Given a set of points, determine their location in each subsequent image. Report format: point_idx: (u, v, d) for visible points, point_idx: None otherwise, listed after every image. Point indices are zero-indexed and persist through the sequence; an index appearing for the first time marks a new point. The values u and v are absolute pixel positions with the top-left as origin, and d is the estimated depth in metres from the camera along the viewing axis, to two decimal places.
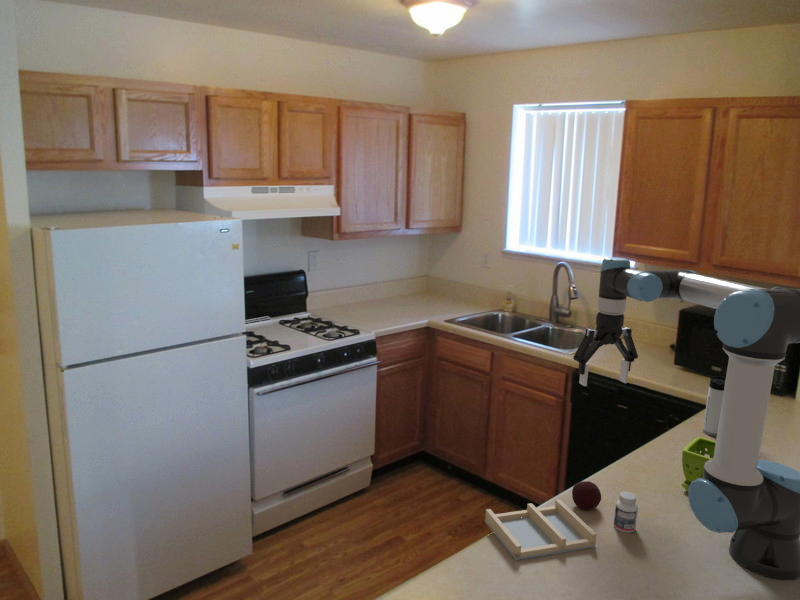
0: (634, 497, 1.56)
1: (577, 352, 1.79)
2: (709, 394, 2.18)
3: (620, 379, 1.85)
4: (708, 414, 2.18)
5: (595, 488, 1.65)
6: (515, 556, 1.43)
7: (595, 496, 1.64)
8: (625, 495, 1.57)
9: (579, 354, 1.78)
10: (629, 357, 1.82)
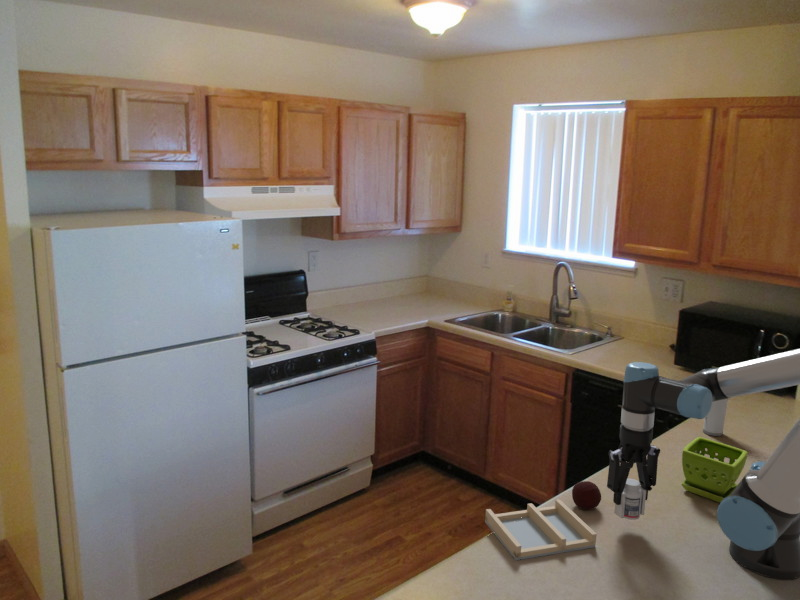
0: (638, 484, 1.55)
1: (609, 480, 1.54)
2: None
3: None
4: (708, 414, 2.18)
5: (595, 488, 1.65)
6: (515, 556, 1.43)
7: (595, 496, 1.64)
8: (629, 482, 1.56)
9: (612, 483, 1.53)
10: (647, 484, 1.56)
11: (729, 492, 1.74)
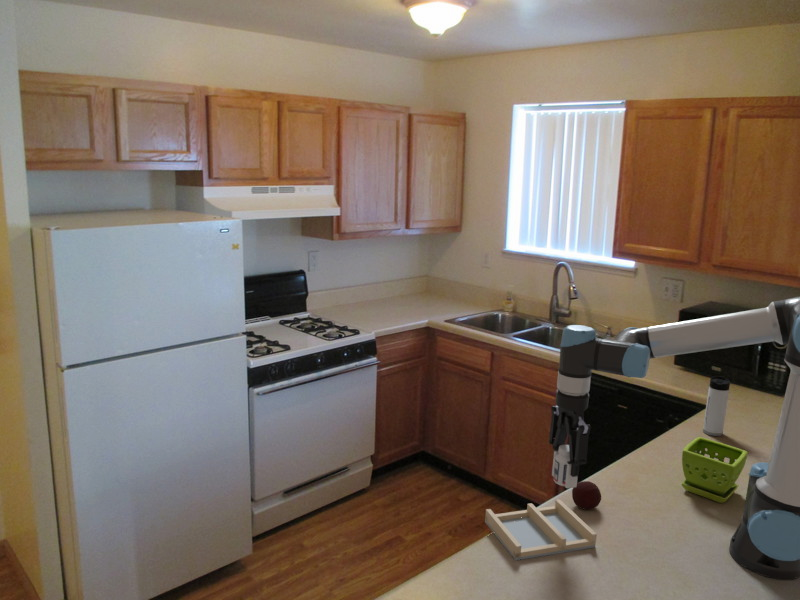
0: (564, 450, 1.50)
1: None
2: (709, 394, 2.18)
3: None
4: (708, 414, 2.18)
5: (595, 488, 1.65)
6: (515, 556, 1.43)
7: (595, 496, 1.64)
8: (566, 447, 1.52)
9: None
10: (571, 457, 1.48)
11: (729, 492, 1.74)
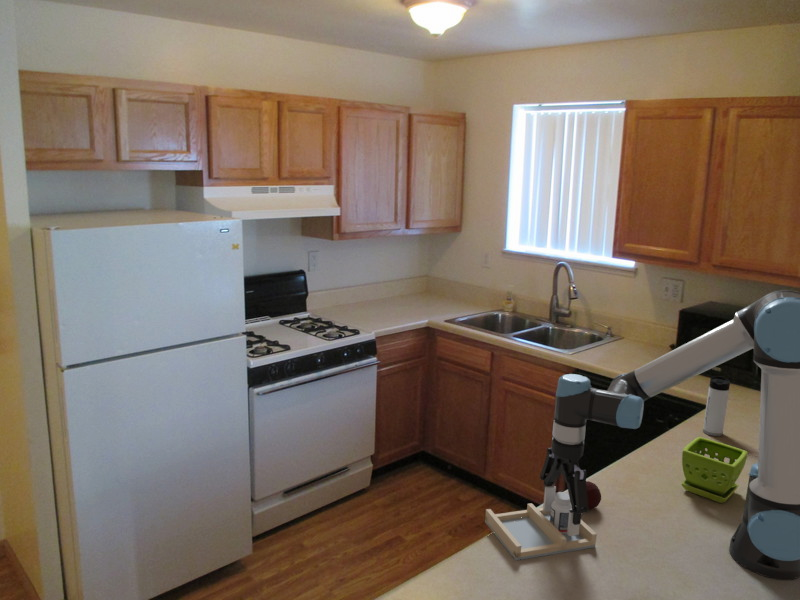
0: (560, 498, 1.53)
1: None
2: (709, 394, 2.18)
3: None
4: (708, 414, 2.18)
5: (595, 488, 1.65)
6: (515, 556, 1.43)
7: (595, 496, 1.64)
8: (562, 494, 1.55)
9: None
10: (572, 506, 1.48)
11: (729, 492, 1.74)
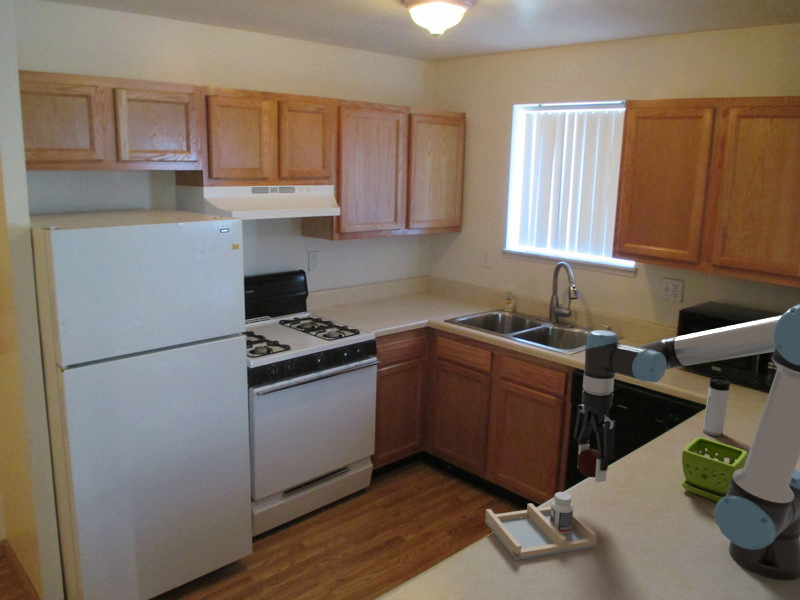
0: (559, 498, 1.53)
1: None
2: (709, 394, 2.18)
3: None
4: (708, 414, 2.18)
5: None
6: (515, 556, 1.43)
7: None
8: (562, 494, 1.55)
9: None
10: (599, 453, 1.59)
11: None
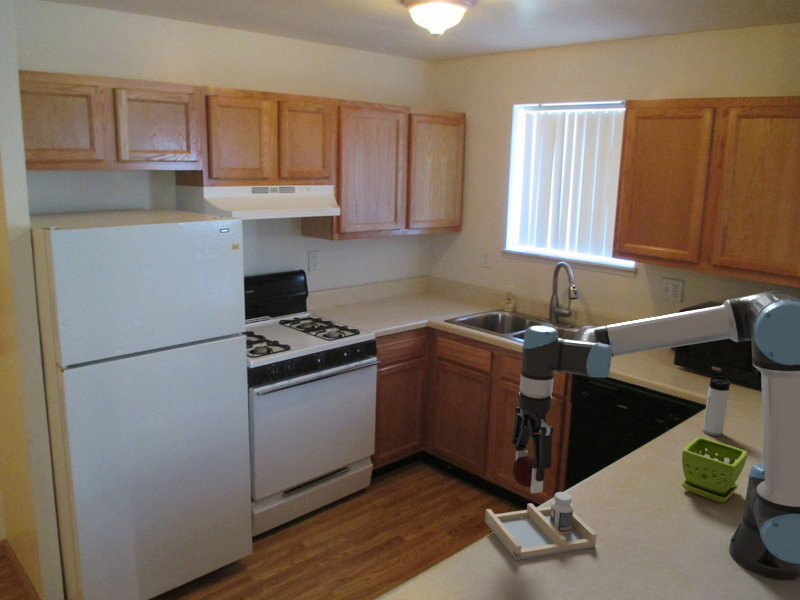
0: (559, 498, 1.53)
1: None
2: (709, 394, 2.18)
3: None
4: (708, 414, 2.18)
5: None
6: (515, 556, 1.43)
7: None
8: (562, 494, 1.55)
9: None
10: (535, 462, 1.44)
11: (729, 492, 1.74)
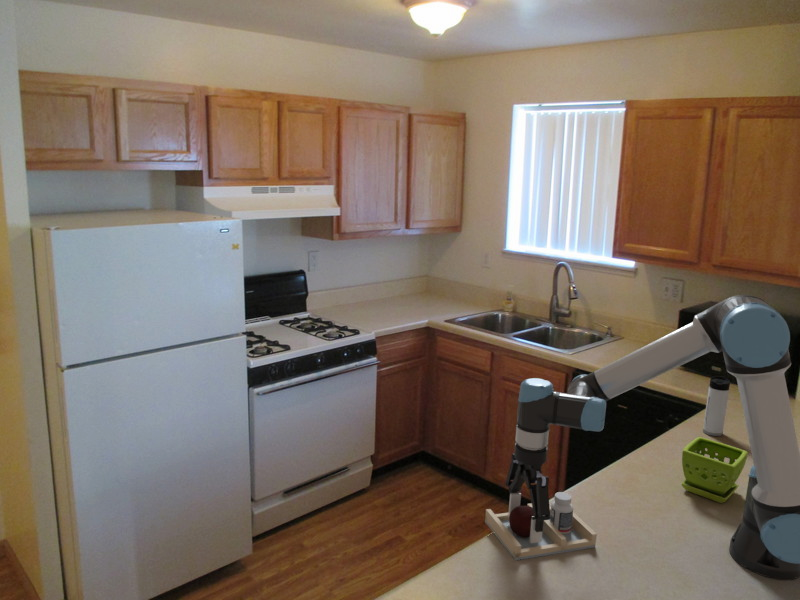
0: (560, 498, 1.53)
1: None
2: (709, 394, 2.18)
3: None
4: (708, 414, 2.18)
5: (533, 514, 1.50)
6: (515, 556, 1.43)
7: None
8: (562, 494, 1.55)
9: None
10: (534, 512, 1.45)
11: (729, 492, 1.74)
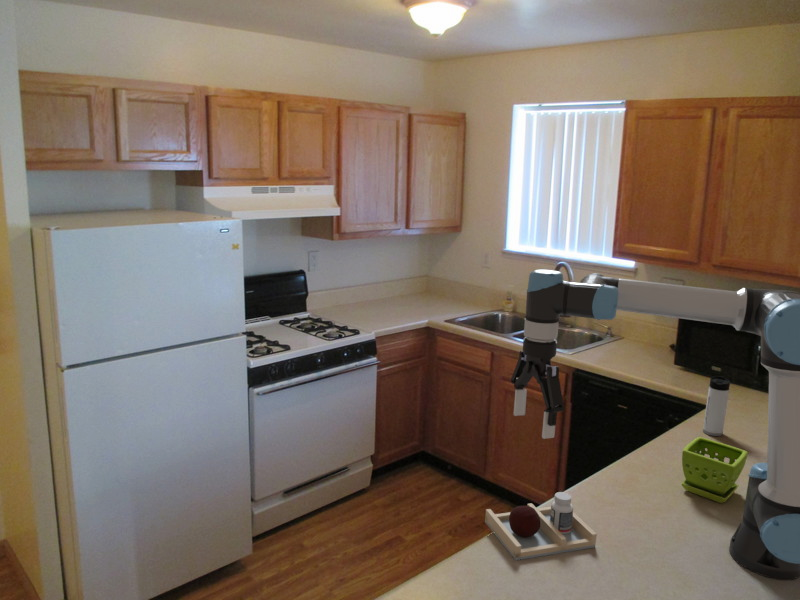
0: (559, 498, 1.53)
1: None
2: (709, 394, 2.18)
3: None
4: (708, 414, 2.18)
5: (533, 514, 1.50)
6: (515, 556, 1.43)
7: (533, 523, 1.49)
8: (562, 494, 1.55)
9: None
10: (547, 405, 1.38)
11: (729, 492, 1.74)
